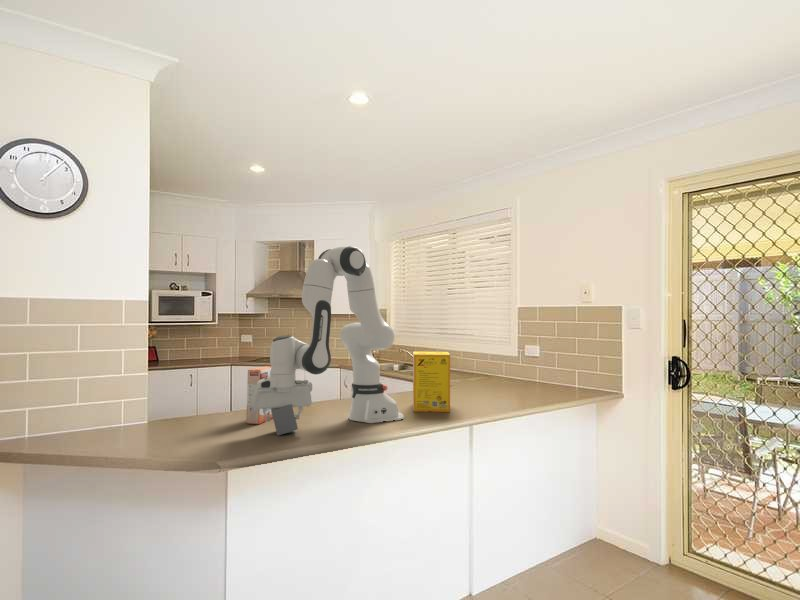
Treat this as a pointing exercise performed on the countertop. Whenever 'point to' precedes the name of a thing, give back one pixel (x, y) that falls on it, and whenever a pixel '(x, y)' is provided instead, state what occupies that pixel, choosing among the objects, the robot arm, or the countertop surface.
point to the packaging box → (431, 381)
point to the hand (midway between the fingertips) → (282, 420)
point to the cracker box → (253, 377)
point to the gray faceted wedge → (284, 419)
